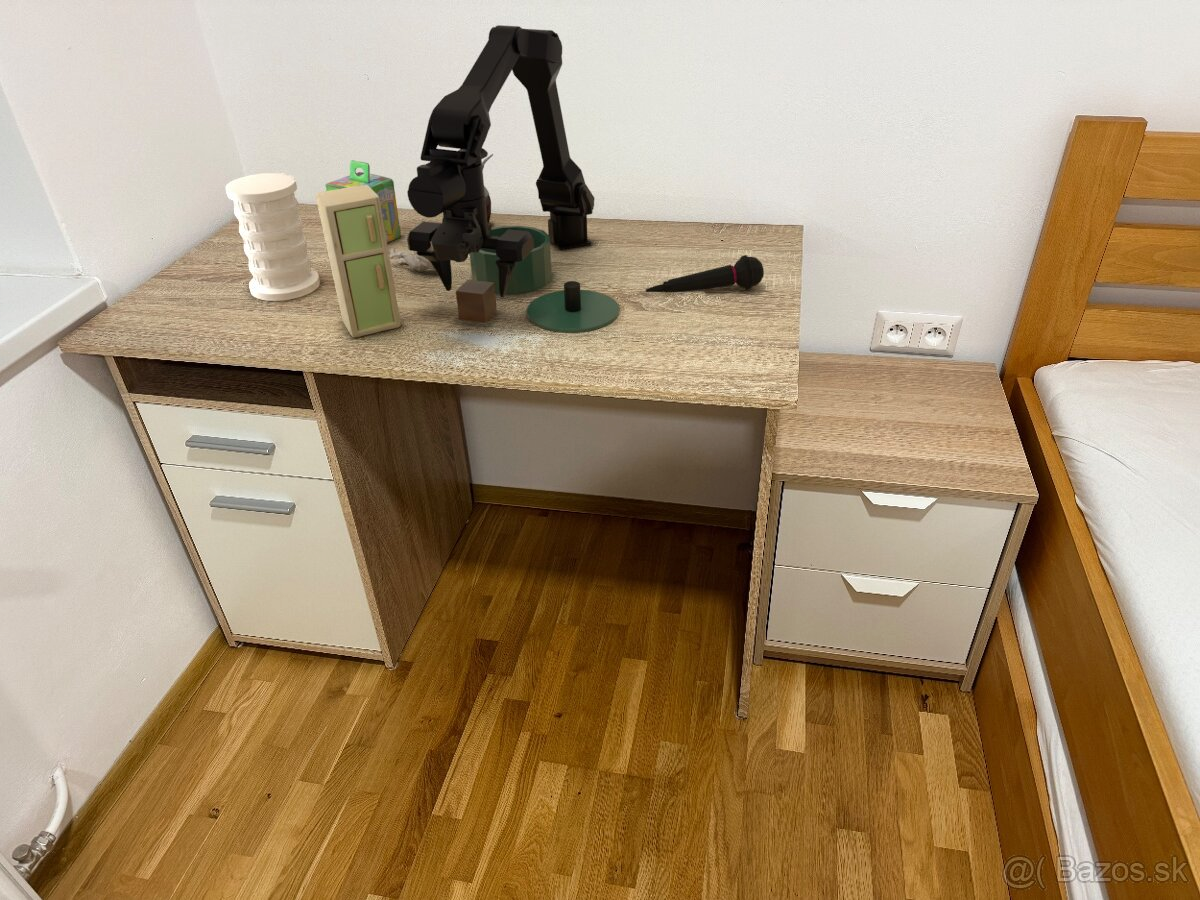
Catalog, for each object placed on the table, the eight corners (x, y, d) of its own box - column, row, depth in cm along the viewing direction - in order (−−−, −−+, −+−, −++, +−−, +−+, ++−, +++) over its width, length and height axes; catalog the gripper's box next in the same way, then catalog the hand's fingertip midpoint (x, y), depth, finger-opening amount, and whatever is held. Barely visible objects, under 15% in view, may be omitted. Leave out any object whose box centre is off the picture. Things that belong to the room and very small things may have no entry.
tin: (534, 260, 158) (532, 220, 153) (564, 288, 147) (562, 246, 143) (463, 274, 153) (458, 233, 149) (488, 303, 143) (484, 261, 138)
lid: (595, 289, 147) (594, 259, 144) (635, 323, 136) (635, 292, 133) (513, 306, 142) (511, 276, 139) (548, 344, 131) (546, 312, 128)
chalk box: (334, 243, 166) (319, 166, 157) (368, 228, 172) (355, 153, 164) (369, 252, 162) (355, 173, 153) (403, 237, 168) (391, 160, 160)
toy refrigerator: (352, 341, 133) (325, 207, 121) (341, 322, 138) (314, 192, 126) (403, 329, 136) (381, 197, 124) (390, 311, 141) (368, 183, 129)
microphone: (650, 314, 145) (766, 293, 145) (648, 289, 140) (768, 267, 141) (644, 292, 148) (757, 271, 149) (642, 267, 144) (759, 245, 144)
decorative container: (278, 270, 156) (254, 169, 146) (333, 277, 153) (312, 175, 142) (236, 295, 147) (207, 191, 137) (293, 304, 144) (267, 198, 133)
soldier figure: (415, 262, 160) (463, 252, 154) (410, 286, 159) (459, 277, 153) (384, 242, 154) (433, 232, 148) (379, 267, 153) (428, 258, 146)
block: (471, 310, 141) (467, 279, 138) (497, 313, 140) (494, 282, 137) (459, 322, 137) (455, 291, 134) (486, 325, 136) (482, 294, 133)
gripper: (382, 208, 123) (398, 308, 132) (503, 219, 119) (512, 322, 127) (417, 184, 132) (430, 279, 141) (532, 193, 127) (538, 291, 136)
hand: (475, 293), depth 136 cm, fingers open, 9 cm apart
